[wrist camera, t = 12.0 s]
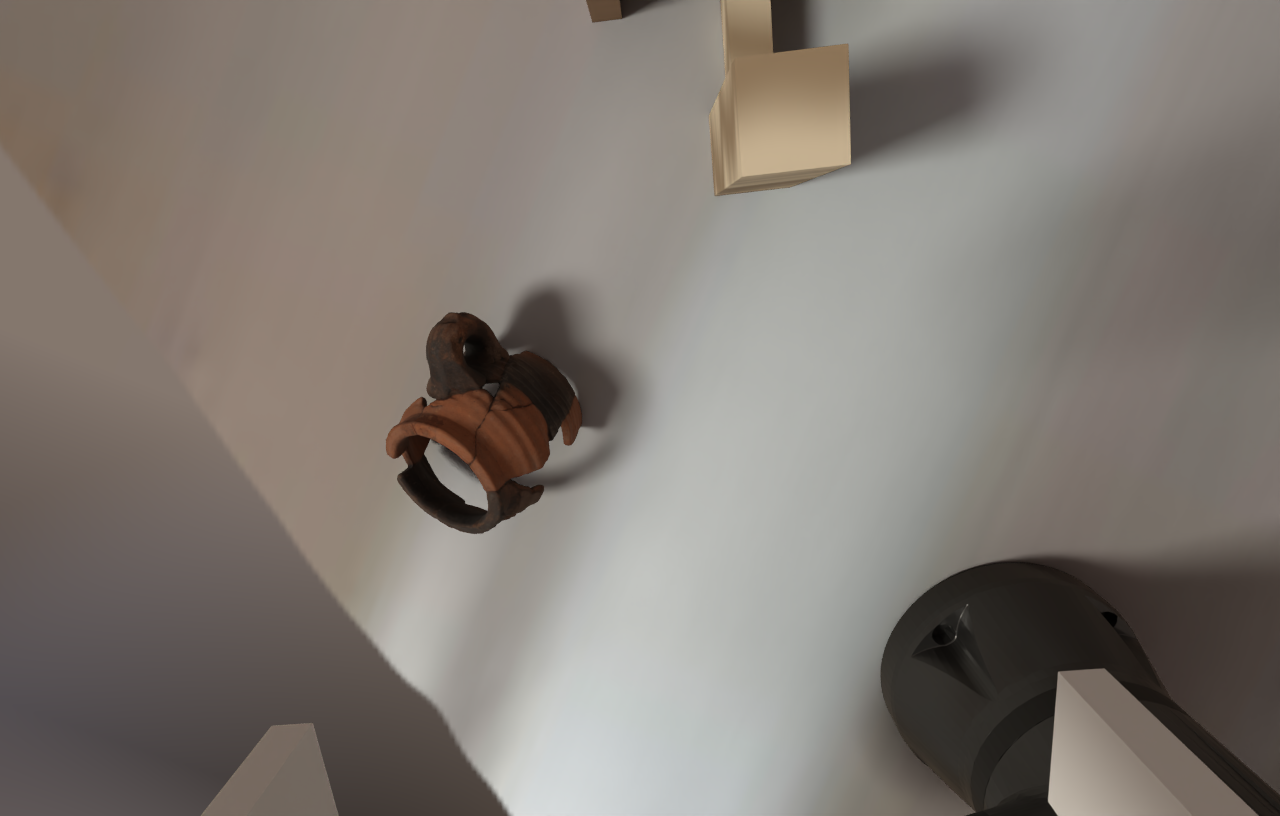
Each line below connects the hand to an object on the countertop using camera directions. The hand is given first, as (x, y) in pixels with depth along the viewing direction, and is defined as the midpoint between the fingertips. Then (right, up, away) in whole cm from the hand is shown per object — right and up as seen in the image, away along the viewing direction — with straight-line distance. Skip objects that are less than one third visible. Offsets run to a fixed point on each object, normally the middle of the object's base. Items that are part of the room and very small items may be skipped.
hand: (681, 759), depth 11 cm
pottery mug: (-9, +7, +26) cm, 29 cm away
